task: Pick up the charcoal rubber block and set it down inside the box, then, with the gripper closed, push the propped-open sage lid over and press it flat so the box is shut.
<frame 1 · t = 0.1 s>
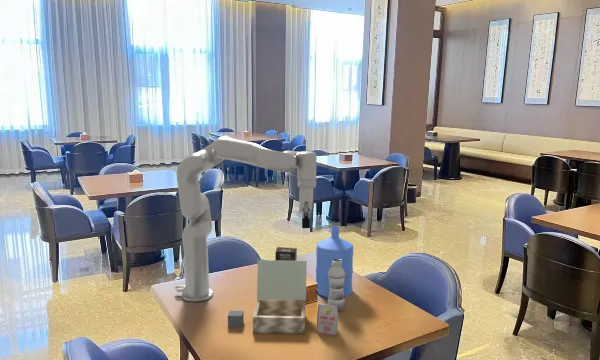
hand: (306, 224, 181), 31 cm above the table, tool pointing down, fingers open, 9 cm apart
tea bag: (327, 332, 159), on the table
lid: (281, 280, 172), point 13 cm above the table, hinge at 108.0°
plastic bottle: (335, 309, 177), on the table
block: (235, 324, 164), on the table
water jug: (333, 291, 193), on the table
box: (280, 324, 164), on the table
coffee box: (285, 284, 201), on the table
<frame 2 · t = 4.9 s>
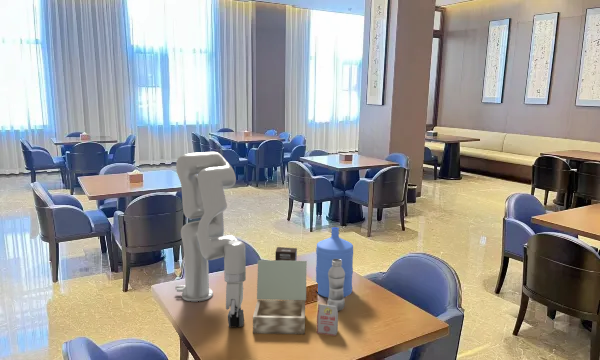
hand: (235, 323, 164), 1 cm above the table, tool pointing down, fingers closed on block, 3 cm apart
block: (236, 324, 164), on the table, tilted 5°, touching gripper
everything else where it was.
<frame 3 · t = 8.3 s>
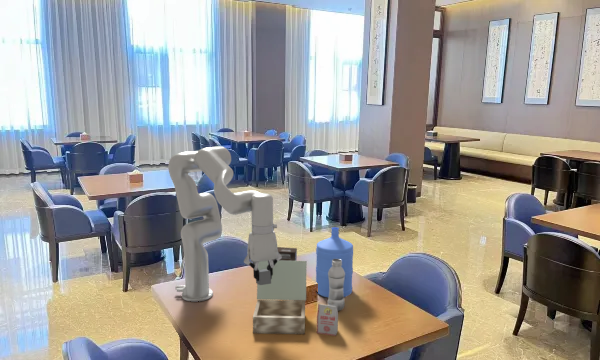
hand: (263, 278, 161), 18 cm above the table, tool pointing down, fingers closed on block, 4 cm apart
block: (263, 283, 161), point 16 cm above the table, tilted 13°, touching gripper
everything else where it was.
when the fingers open (3 cm above the table, at t = 11.9 s): block stays where it is, resting on box.
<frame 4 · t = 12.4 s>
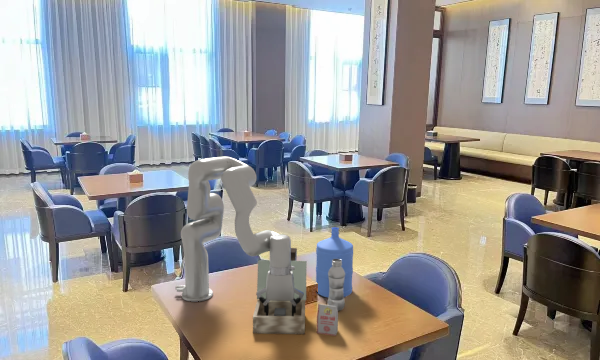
hand: (280, 314, 164), 4 cm above the table, tool pointing down, fingers open, 9 cm apart
block: (280, 322, 164), point 1 cm above the table, touching box
everything else where it was.
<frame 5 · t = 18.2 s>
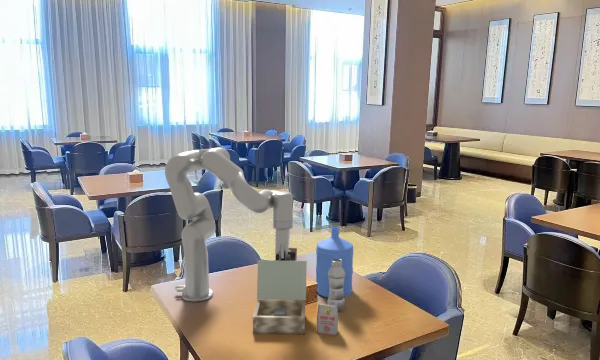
hand: (282, 268, 177), 15 cm above the table, tool pointing down, fingers closed
lid: (281, 280, 172), point 13 cm above the table, hinge at 107.7°, touching gripper
everything else where it was.
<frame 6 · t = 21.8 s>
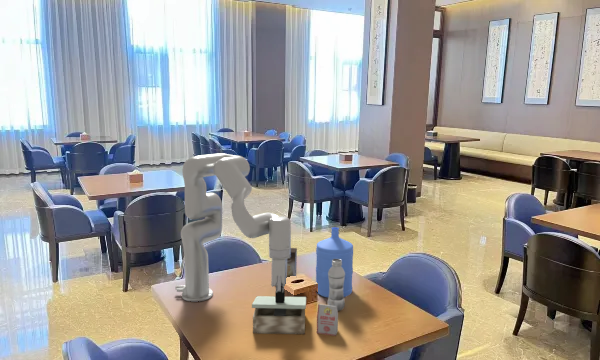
hand: (280, 301, 160), 10 cm above the table, tool pointing down, fingers closed
lid: (280, 302, 163), point 8 cm above the table, hinge at 13.1°
everything else where it was.
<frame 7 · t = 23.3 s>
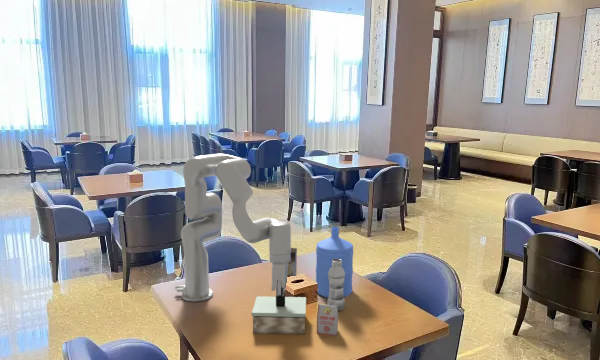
hand: (280, 305, 162), 8 cm above the table, tool pointing down, fingers closed
lid: (280, 306, 163), point 7 cm above the table, hinge at 2.1°, touching gripper
everything else where it was.
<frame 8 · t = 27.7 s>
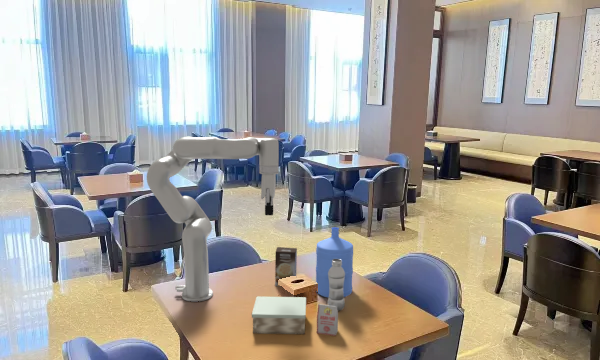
hand: (269, 214, 181), 35 cm above the table, tool pointing down, fingers closed
lid: (280, 307, 163), point 7 cm above the table, hinge at -0.1°
everything else where it was.
at the end: lid at +0° (first picture: +108°); block inside the target area on the box (0.6 cm from its centre), point 0.8 cm above the box's base; block tilted 0° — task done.
